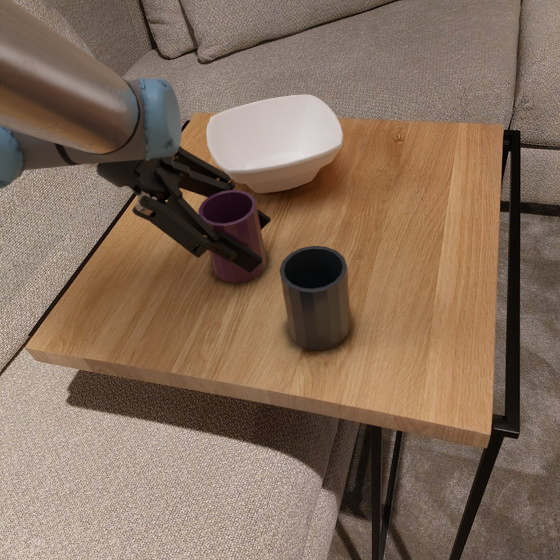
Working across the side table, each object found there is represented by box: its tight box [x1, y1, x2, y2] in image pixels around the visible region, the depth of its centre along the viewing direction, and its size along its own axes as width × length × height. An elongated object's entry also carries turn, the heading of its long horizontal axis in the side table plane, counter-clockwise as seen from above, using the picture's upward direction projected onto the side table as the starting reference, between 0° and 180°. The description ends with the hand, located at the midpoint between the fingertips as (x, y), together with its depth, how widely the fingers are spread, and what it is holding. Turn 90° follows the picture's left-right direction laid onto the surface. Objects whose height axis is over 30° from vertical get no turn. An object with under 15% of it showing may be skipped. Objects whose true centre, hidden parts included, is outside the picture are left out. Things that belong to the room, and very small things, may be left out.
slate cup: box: [279, 245, 351, 352], centre depth 68 cm, size 7×7×10 cm
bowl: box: [205, 94, 345, 194], centre depth 93 cm, size 21×21×9 cm
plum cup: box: [198, 189, 267, 284], centre depth 78 cm, size 7×7×10 cm
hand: (260, 244), depth 79 cm, fingers closed on plum cup, 7 cm apart
